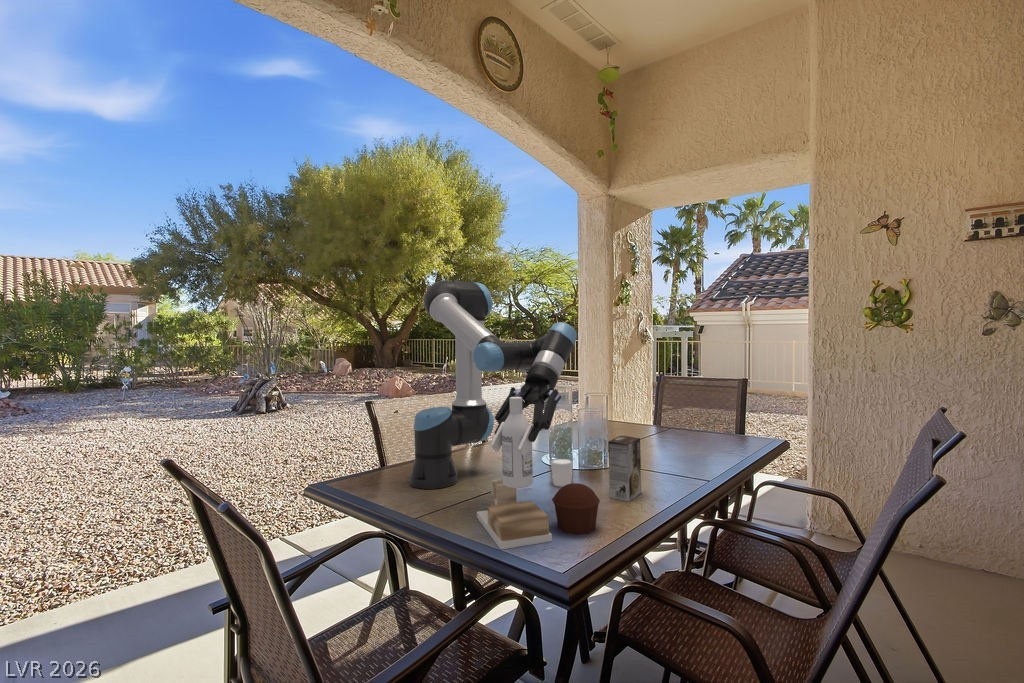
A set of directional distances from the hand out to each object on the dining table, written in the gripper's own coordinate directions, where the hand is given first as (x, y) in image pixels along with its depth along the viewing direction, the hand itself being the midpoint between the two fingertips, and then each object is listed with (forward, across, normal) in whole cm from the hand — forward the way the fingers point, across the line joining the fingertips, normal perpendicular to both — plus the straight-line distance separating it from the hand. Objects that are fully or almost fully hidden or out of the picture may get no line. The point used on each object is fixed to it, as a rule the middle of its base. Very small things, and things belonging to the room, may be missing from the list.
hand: (507, 450), depth 108 cm
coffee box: (-16, -9, -45) cm, 49 cm away
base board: (+10, +4, -18) cm, 21 cm away
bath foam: (+4, 0, -9) cm, 9 cm away
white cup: (-16, +12, -45) cm, 49 cm away
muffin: (+4, -9, -25) cm, 27 cm away
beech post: (+7, +9, -20) cm, 23 cm away
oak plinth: (+11, 0, -16) cm, 19 cm away
